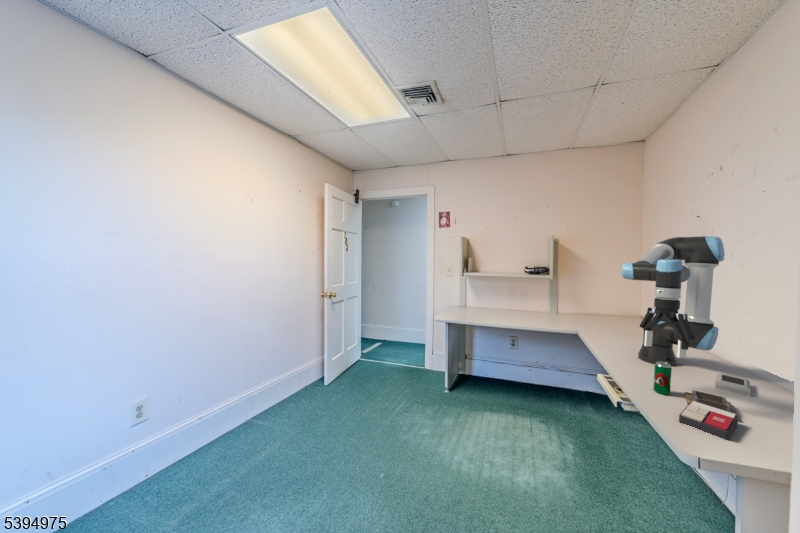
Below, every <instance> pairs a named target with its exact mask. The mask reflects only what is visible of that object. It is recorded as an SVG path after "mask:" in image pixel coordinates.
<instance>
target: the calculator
mask: <svg viewBox="0 0 800 533" xmlns="http://www.w3.org/2000/svg"><path fill="white" fill-rule="evenodd" d="M736 414H737V413H736ZM736 414H734V413H730V412H727V411H724V410H721V409H718V408H714V407H711V406H708V405H705V404H701V403H698V402H695V401H691V402H690V403H689V405H686V407H685V408H684V409H683V410H682V412H680V413H679V415H678V423H679V422H680V423H679V424H681V423H683V424H682V425H684V424H686V425H689V426H692V427H695V428H697V429H699V430H698V431H700V430H702V431H701V432H703V431H704V432H703V433H706V432H707V433H706V434H708V433H710V434H709V435H711V434H712V435H711V436H714V435H715V436H714V437H716V436H718V437H717V438H719V437H720V438H719V439H722V438H723V439H722V440H725V441H729V440H730V439H731V437H732V435H733V434H734V432H735V430H736V429H737V427H738V423H739V422H738V418H739V416H738V414H737V415H736ZM686 425H685V426H686ZM689 426H688V427H689ZM692 427H691V428H692ZM695 428H694V429H695ZM697 429H696V430H697Z"/></svg>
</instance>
